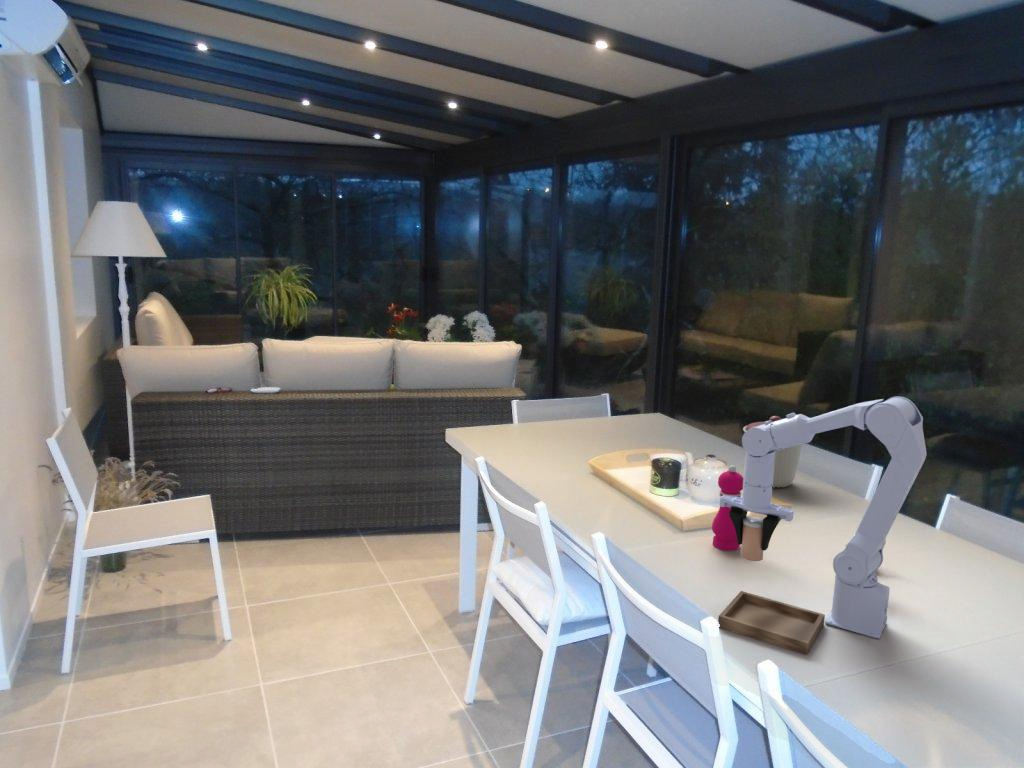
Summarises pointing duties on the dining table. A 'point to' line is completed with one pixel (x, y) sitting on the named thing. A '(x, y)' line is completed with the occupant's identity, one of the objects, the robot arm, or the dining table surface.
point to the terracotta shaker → (752, 539)
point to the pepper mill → (727, 511)
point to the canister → (782, 460)
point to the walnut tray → (772, 622)
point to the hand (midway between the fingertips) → (752, 545)
